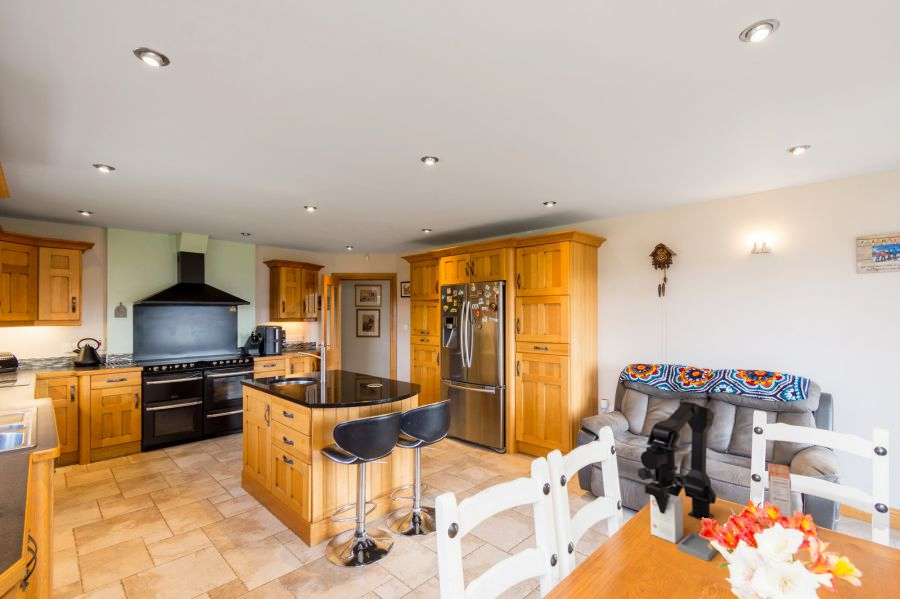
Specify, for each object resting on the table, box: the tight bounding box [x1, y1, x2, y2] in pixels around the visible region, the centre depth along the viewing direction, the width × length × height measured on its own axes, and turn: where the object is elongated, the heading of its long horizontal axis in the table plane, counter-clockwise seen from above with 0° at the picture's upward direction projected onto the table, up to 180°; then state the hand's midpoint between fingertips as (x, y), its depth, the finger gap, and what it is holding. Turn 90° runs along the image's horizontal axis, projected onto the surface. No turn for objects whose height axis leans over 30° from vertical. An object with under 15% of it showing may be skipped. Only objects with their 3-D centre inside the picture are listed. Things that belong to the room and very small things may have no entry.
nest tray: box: [677, 531, 719, 562], centre depth 135 cm, size 11×9×2 cm
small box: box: [649, 494, 684, 544], centre depth 143 cm, size 8×6×13 cm
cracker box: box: [767, 462, 793, 517], centre depth 146 cm, size 14×6×21 cm, turn 144°
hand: (666, 510), depth 143 cm, fingers closed on small box, 6 cm apart
